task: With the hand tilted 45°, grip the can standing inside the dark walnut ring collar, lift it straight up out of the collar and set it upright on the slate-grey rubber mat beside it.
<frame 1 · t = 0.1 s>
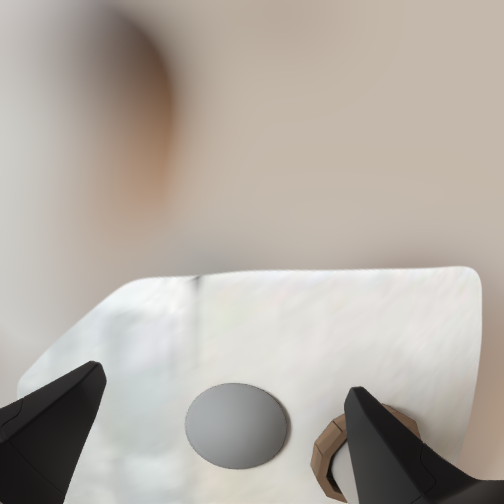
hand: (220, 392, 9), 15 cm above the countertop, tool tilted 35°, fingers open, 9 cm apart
mat: (235, 428, 21), on the countertop
can: (361, 448, 21), resting in collar
collar: (361, 449, 20), on the countertop
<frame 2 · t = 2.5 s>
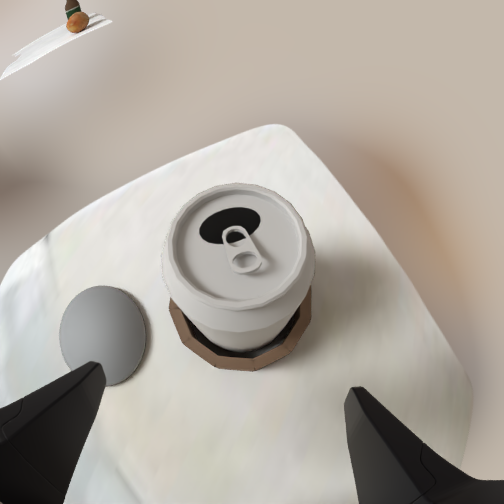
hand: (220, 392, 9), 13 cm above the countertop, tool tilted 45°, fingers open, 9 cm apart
mat: (100, 335, 21), on the countertop
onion: (80, 31, 67), on the countertop
can: (241, 308, 23), resting in collar
beer bottle: (77, 25, 76), on the countertop
collar: (241, 308, 23), on the countertop
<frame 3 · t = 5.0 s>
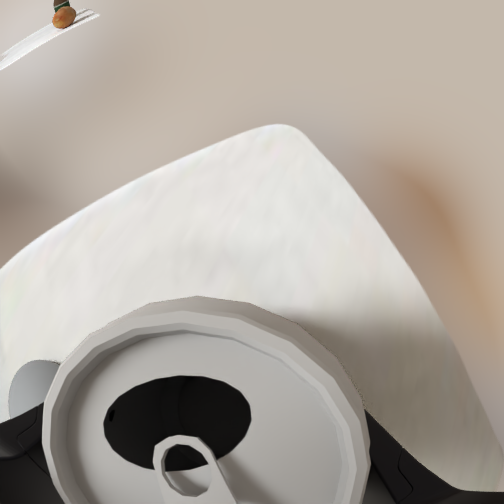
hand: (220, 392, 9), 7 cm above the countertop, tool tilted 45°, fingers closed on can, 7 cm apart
mat: (51, 422, 12), on the countertop
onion: (66, 27, 58), on the countertop
can: (229, 409, 14), resting in collar, touching gripper
beer bottle: (66, 21, 67), on the countertop
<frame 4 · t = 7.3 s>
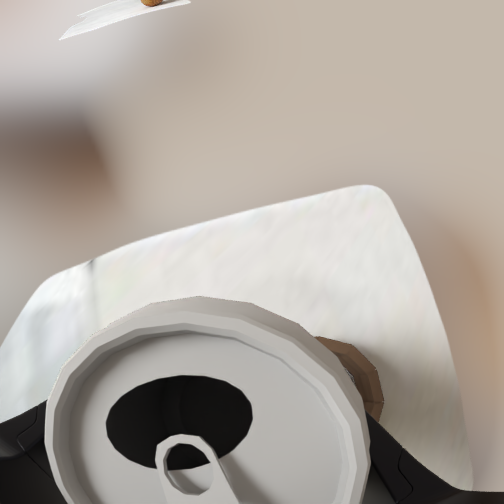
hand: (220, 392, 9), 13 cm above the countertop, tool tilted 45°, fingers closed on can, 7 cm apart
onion: (154, 5, 68), on the countertop
can: (229, 408, 14), point 6 cm above the countertop, touching gripper
collar: (307, 404, 19), on the countertop
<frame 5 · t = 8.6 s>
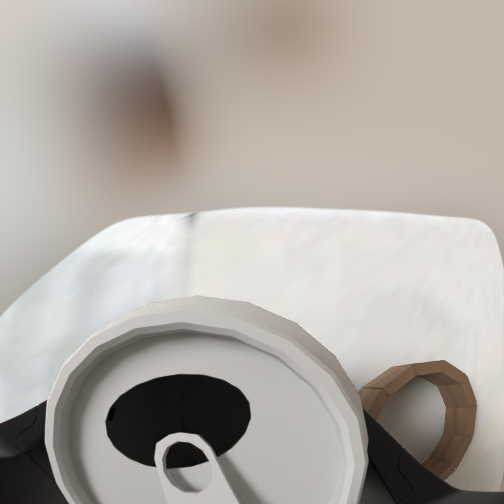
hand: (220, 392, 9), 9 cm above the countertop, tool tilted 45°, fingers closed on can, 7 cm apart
can: (229, 407, 14), point 2 cm above the countertop, touching gripper
collar: (403, 430, 15), on the countertop
when the fingers open (8 cm above the countertop, at t = 9.8 s): can stays where it is, resting on mat.
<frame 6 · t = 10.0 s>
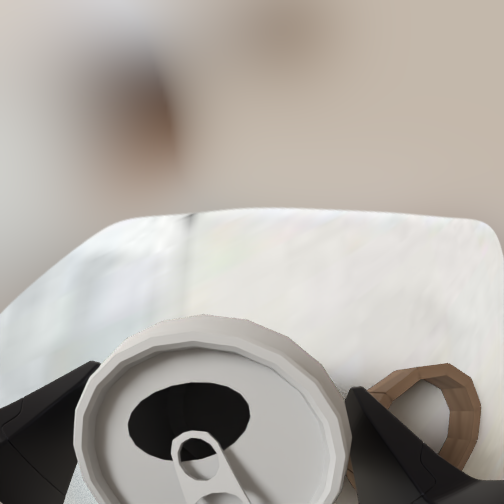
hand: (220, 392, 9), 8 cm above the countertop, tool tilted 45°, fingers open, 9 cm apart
can: (230, 409, 15), resting on mat
collar: (406, 435, 14), on the countertop
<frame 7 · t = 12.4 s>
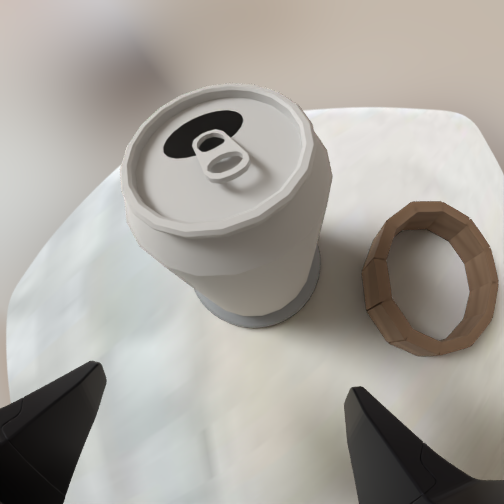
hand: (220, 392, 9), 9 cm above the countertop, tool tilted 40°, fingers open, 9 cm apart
mat: (254, 262, 19), on the countertop
can: (254, 263, 19), resting on mat
collar: (426, 283, 17), on the countertop
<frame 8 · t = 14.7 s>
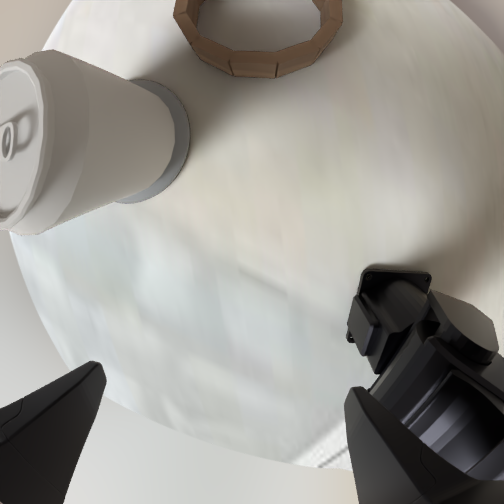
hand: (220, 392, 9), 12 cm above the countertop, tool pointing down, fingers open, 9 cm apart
mat: (129, 140, 17), on the countertop
can: (129, 141, 17), resting on mat
collar: (258, 16, 14), on the countertop
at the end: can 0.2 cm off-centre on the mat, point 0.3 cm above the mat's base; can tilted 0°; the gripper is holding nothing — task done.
